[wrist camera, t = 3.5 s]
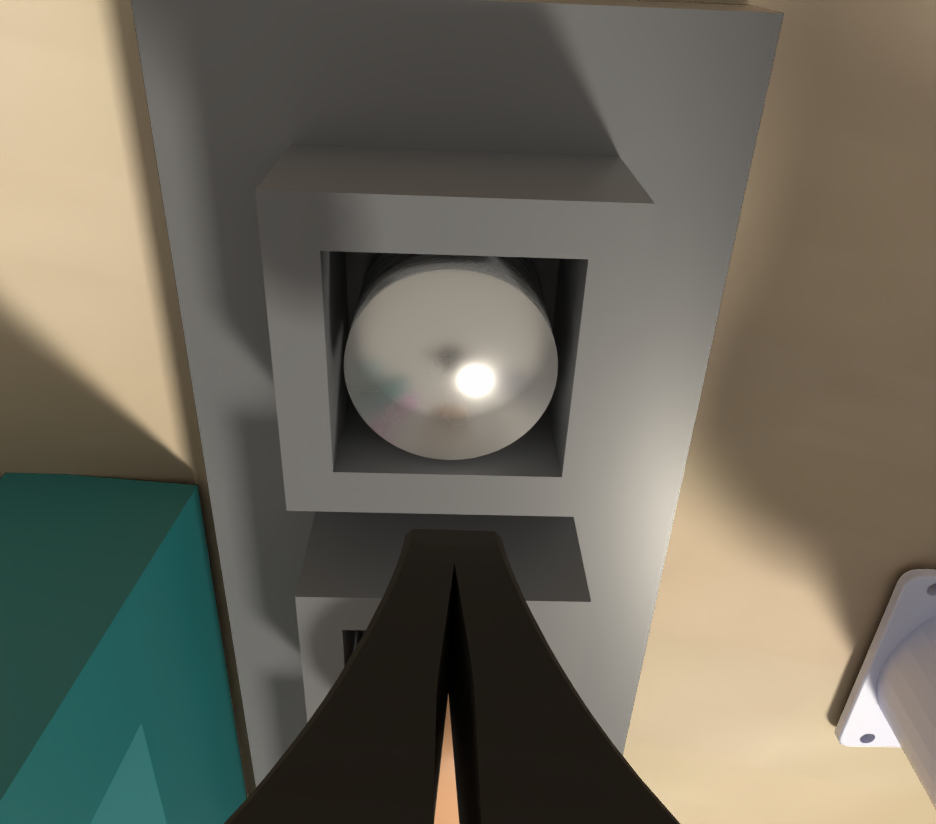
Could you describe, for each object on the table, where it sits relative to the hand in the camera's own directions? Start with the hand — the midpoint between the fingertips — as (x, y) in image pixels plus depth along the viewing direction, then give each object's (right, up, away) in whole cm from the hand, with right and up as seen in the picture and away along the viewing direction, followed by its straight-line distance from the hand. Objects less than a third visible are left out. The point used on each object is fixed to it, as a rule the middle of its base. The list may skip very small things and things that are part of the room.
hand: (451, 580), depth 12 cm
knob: (0, +5, +5) cm, 7 cm away
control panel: (0, -2, +12) cm, 12 cm away
